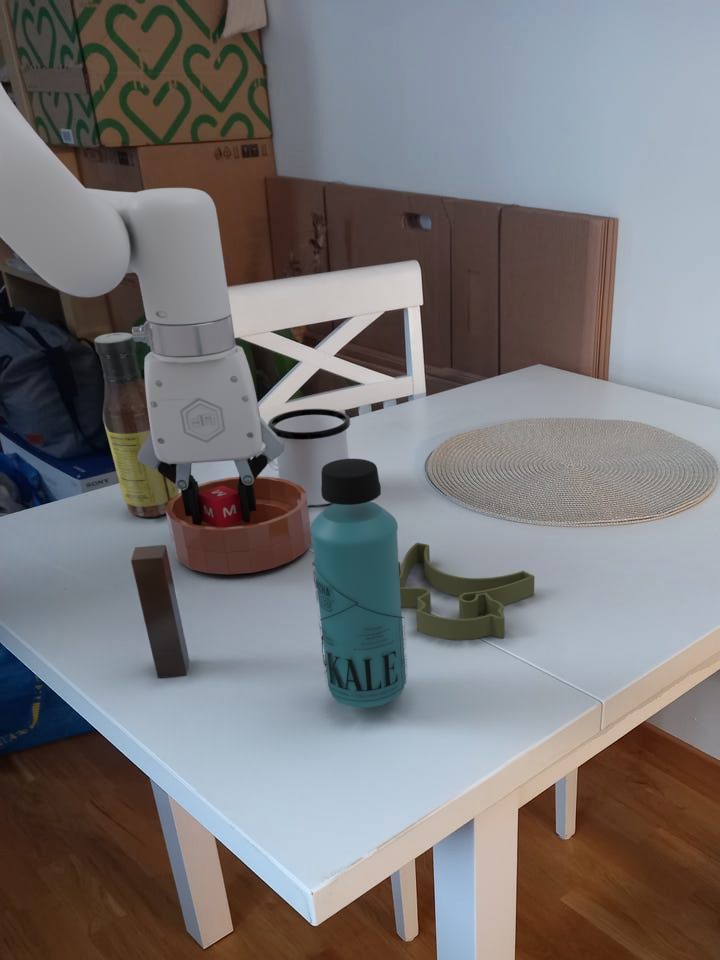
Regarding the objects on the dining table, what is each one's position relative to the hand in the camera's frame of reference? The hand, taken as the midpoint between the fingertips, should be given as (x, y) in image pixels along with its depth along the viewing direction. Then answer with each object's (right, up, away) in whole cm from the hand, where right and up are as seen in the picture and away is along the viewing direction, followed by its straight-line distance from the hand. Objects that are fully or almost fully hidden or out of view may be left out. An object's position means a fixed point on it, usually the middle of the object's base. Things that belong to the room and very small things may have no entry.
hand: (222, 517), depth 95 cm
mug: (+6, +5, +18) cm, 19 cm away
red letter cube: (0, 0, 0) cm, 1 cm away
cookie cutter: (+23, -9, -6) cm, 25 cm away
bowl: (+1, -3, +4) cm, 5 cm away
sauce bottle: (-12, +2, +13) cm, 18 cm away
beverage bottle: (+18, -18, -21) cm, 32 cm away
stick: (0, -15, -16) cm, 22 cm away
